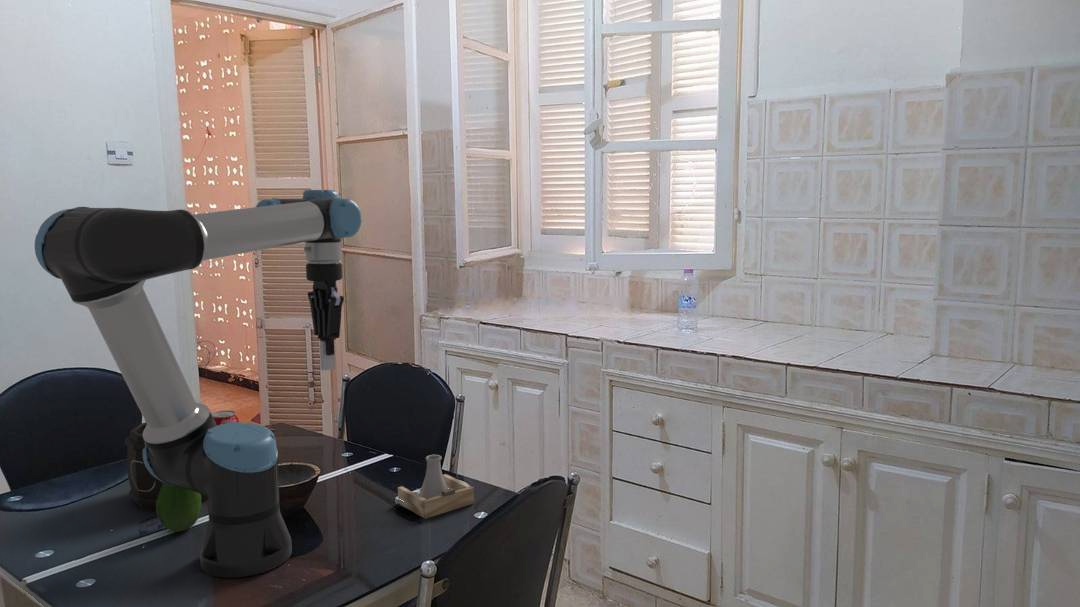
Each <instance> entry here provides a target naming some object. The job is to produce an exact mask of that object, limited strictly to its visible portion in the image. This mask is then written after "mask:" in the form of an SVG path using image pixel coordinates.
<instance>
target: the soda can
mask: <svg viewBox="0 0 1080 607" xmlns="http://www.w3.org/2000/svg"><path fill="white" fill-rule="evenodd" d="M236 413H237V412H236V411H235V410H218V411H215V412H211V414H212V416H213V418H214V421H215V423H216V425H217V426H218V425H221V424H225V423H233V422H240V420H239V417H238V416H237V415H236Z"/></svg>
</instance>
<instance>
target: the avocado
mask: <svg viewBox="0 0 1080 607" xmlns="http://www.w3.org/2000/svg"><path fill="white" fill-rule="evenodd" d="M201 509H202V502H201V494H200V493H197V492H194V491H190V490H187V489H183V488H180V487H174V486H171V485H168V484H165V483H163V485H162V487H161V489H160V492H159V495H158V498H157V501H156V511H155V514H156V516H157V517H158V519H159V521H160V523H161V525H162V526H163V527H165V528H166V529H167V530H169V531H172V532H178V533H179V532H186V531H187V530H188V529H190V528H191V527H193V526H194V525H195V524H196V523H197V521H198V520H199V517H200V515H201Z"/></svg>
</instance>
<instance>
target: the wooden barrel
mask: <svg viewBox="0 0 1080 607" xmlns="http://www.w3.org/2000/svg"><path fill="white" fill-rule="evenodd" d="M146 426H147V423H146V422H143V423H140V424H138V425H136V426H135V427H134V428H132V429H131V430H130V431H129V433H128V434H129V435H128V436H127V437H126V438H125V439H124V440H125V441H124V444H125V445H126V446H127V452H126V454H127V455H126V464H127V468H126V469H127V478H128V482H129V487H130V490H129V491H128V495H129V497H130V498H131V499H132V500H133V501H134V503H135V504H136V505H137V506H138V507H139V508H140V509H142V511H155V512H156V501H157V498H158V495H159V492H160V489H161V487H162V485H163V483H164V482H161V481H160V480H158V479H156V478H155V477H154V476H152V475H151V474H150V472H149V471H148V470H147V468H146V466H145V464H144V460H143V449H144V448H145V444H144V443H145V441H144V438H143V431H144V429H145V427H146ZM200 494H201V493H200ZM206 501H208V496H207V495H204V494H201V503H203V502H206Z"/></svg>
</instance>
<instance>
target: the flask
mask: <svg viewBox="0 0 1080 607" xmlns="http://www.w3.org/2000/svg"><path fill="white" fill-rule="evenodd" d="M424 460H425V461H426V470H425V471H426V472H425V476H424V478H423V482H422V485H421V488H420V491H419V494H418V495H419V496H421V497H423V498H425V499H429V498H432V497H436V496H439V495H442V491H443V490H446V489H448V487H447V485H446V482H445V480H444V477H443V475H444V474H443V472H442V466H441V460H442V456H441V455H439V454H431V455H427V456H426V457H425V459H424Z"/></svg>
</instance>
